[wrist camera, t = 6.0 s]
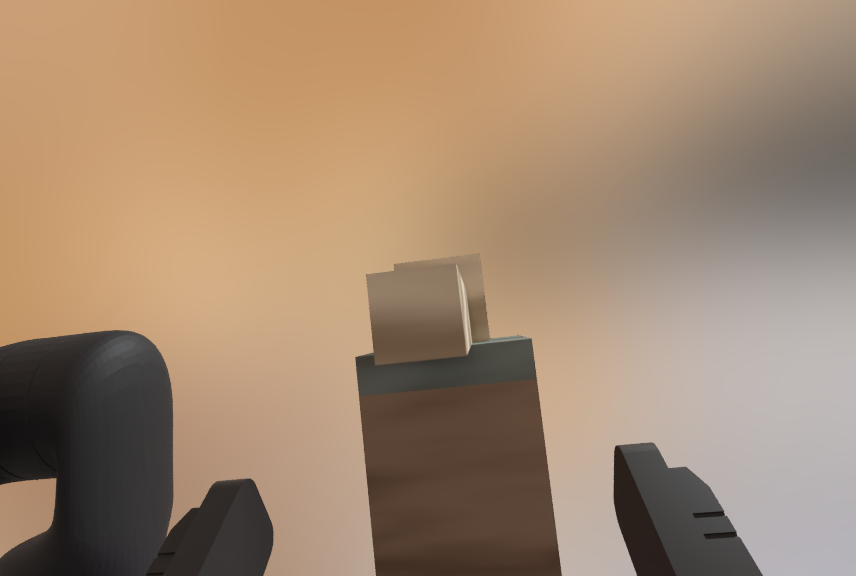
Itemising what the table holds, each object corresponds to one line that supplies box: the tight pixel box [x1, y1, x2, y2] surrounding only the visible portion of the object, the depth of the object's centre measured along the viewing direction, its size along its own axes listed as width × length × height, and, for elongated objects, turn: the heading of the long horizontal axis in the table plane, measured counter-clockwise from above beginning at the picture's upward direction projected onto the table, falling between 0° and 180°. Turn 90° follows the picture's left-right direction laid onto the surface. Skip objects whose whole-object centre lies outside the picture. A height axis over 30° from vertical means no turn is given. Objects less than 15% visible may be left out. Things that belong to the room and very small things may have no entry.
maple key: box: [366, 254, 490, 365], centre depth 24 cm, size 17×5×5 cm, turn 174°
